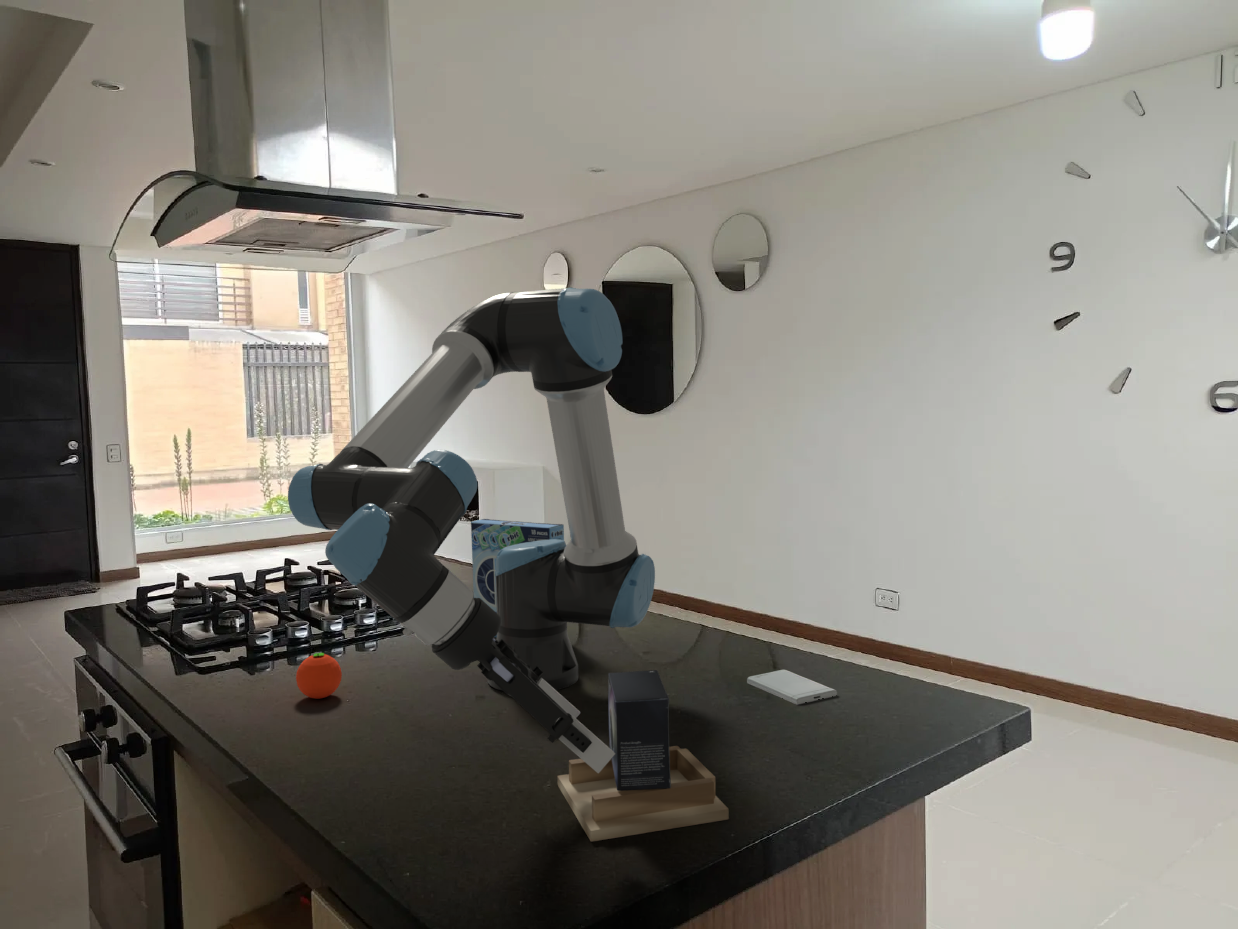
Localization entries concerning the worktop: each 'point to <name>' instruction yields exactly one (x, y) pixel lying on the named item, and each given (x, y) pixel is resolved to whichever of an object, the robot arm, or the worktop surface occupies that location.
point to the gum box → (496, 537)
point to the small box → (639, 730)
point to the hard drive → (791, 686)
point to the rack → (641, 799)
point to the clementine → (318, 676)
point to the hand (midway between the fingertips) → (588, 740)
